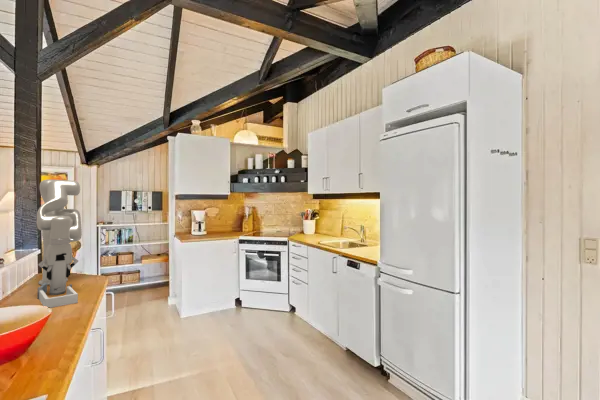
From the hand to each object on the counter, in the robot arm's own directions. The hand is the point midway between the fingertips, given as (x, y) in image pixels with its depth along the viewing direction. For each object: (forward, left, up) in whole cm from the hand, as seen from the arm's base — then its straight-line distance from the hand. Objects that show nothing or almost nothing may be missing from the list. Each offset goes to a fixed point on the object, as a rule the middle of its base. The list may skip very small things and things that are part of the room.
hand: (58, 277), depth 149 cm
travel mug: (0, 0, -8) cm, 8 cm away
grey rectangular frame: (+13, -2, -8) cm, 15 cm away
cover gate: (-1, -6, -8) cm, 10 cm away
